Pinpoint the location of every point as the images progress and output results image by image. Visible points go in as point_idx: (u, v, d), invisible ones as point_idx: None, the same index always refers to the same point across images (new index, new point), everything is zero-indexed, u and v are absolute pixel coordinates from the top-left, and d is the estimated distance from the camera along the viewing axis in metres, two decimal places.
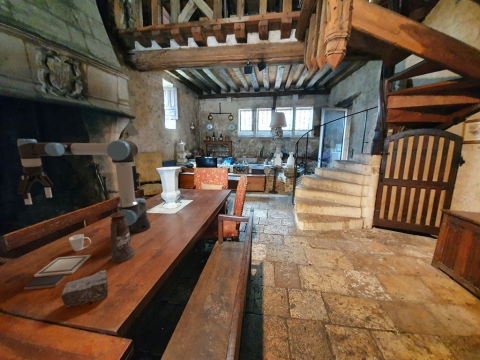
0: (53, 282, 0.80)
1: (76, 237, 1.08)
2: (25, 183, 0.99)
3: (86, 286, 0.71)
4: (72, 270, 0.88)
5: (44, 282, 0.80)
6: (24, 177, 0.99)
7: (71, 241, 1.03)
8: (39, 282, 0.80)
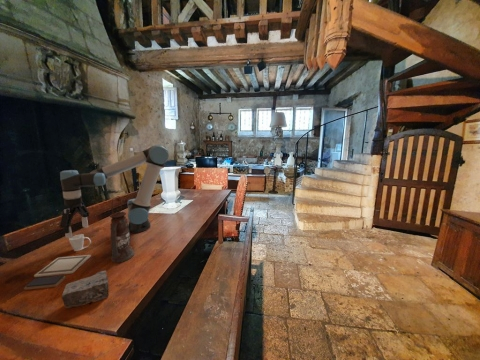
0: (53, 282, 0.80)
1: (76, 237, 1.08)
2: (67, 217, 0.97)
3: (86, 287, 0.70)
4: (72, 270, 0.88)
5: (44, 282, 0.80)
6: (66, 211, 0.97)
7: (71, 241, 1.03)
8: (39, 282, 0.80)
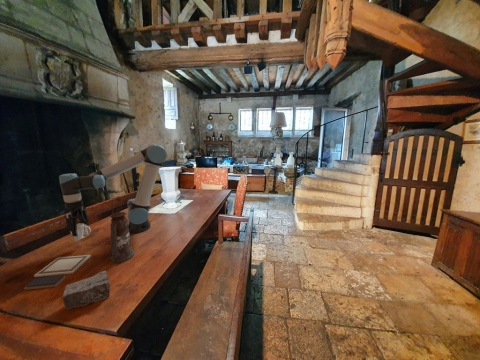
0: (53, 282, 0.80)
1: None
2: (71, 221, 0.99)
3: (87, 287, 0.70)
4: (72, 270, 0.88)
5: (44, 282, 0.80)
6: (68, 216, 0.98)
7: None
8: (39, 282, 0.80)
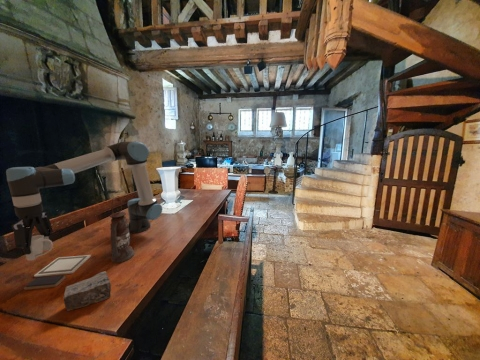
0: (53, 282, 0.80)
1: (33, 239, 0.79)
2: (22, 234, 0.70)
3: (88, 288, 0.70)
4: (72, 270, 0.88)
5: (44, 282, 0.80)
6: (18, 227, 0.69)
7: None
8: (39, 282, 0.80)
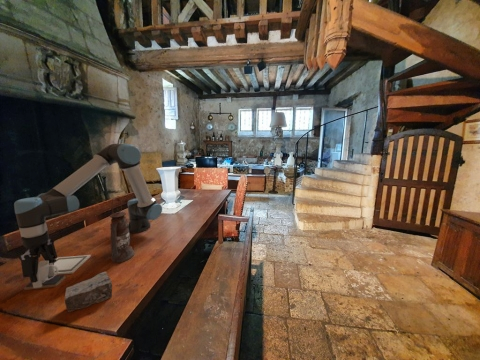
0: (53, 282, 0.80)
1: (38, 265, 0.81)
2: (29, 264, 0.73)
3: (89, 288, 0.70)
4: (72, 270, 0.88)
5: (44, 282, 0.80)
6: (25, 258, 0.71)
7: None
8: None
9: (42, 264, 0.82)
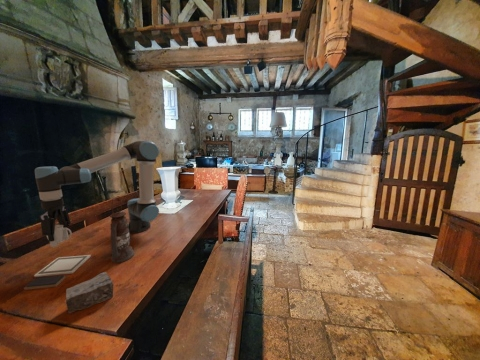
0: (53, 282, 0.80)
1: None
2: (48, 224, 0.83)
3: (91, 288, 0.70)
4: (72, 270, 0.88)
5: (44, 282, 0.80)
6: (44, 218, 0.81)
7: None
8: (39, 282, 0.80)
9: (57, 228, 0.92)
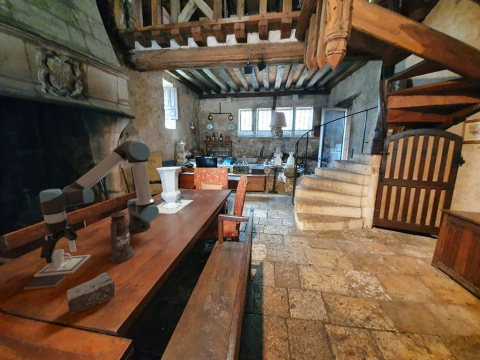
0: (53, 282, 0.80)
1: (55, 253, 0.91)
2: (49, 245, 0.83)
3: (92, 289, 0.69)
4: (72, 270, 0.88)
5: (44, 282, 0.80)
6: (48, 237, 0.83)
7: None
8: (39, 282, 0.80)
9: (58, 252, 0.92)
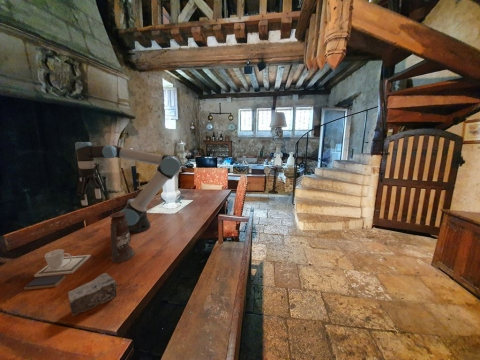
0: (53, 282, 0.80)
1: (55, 253, 0.91)
2: (83, 185, 1.03)
3: (94, 289, 0.69)
4: (72, 270, 0.88)
5: (44, 282, 0.80)
6: (82, 179, 1.03)
7: (47, 258, 0.86)
8: (39, 282, 0.80)
9: (58, 252, 0.92)
